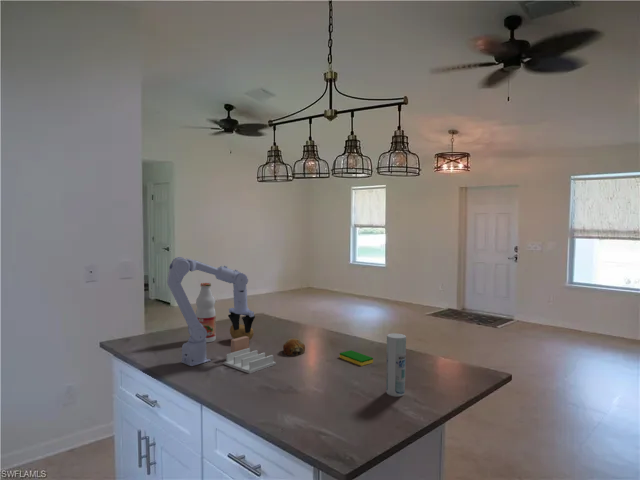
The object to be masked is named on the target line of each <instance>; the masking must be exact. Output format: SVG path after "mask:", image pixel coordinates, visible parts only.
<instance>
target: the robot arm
mask: <svg viewBox="0 0 640 480" xmlns="http://www.w3.org/2000/svg"><path fill="white" fill-rule="evenodd" d="M194 271H200V272H203V273H206V274H210V275H213V276H215V279H216V280H218V281H222V282H226V283H229V284H232V286H233V289H232V291H233V307H230V308H228V315H227V316H228V319H229V320H230V321H231V322H230V323H231V324H232V325H233V328H234V330H238V329H239V324H240V318H241V319H242V322H243V325H244V326H245V332H246V333H249V332H250V330H251V328H252V325H253V322H254V320H255V318H256V316H255V311H252V310H251V309H250V308H249V306H248V289H247V284H248V282H249V279H248V276H247V275H246V274H245V273H243V272H241V271H239V270H237V269H231V268H229V267H228V266H227V265H223V266H222V265H221V266H219V267H216V266H213V265H209V264H207V263H203V262H201V261H198V260H196V259H190V258H184V257H183V256H176V257H175V258H174V259H172V261H171V263H170V265H169V269H168V277H167V281H166V283H167V285H168V288H169V289H170V291H171V293H172V296H173V298H174V300H175V302H176V304H177V306H178V308H179V309H180V312H181V314H182V316H183V318H184V320H185V322H186V324H187V332H188V334H189V335H190V336H189V337H188V341H187V342H184V343H182V346H181V360H180V363H182V364H185V365H187V366H190V367H195V366H198V365H200V364H204V363H207V362H211V361H212V360H211V359H210V358H207V343H206V336H207V331H206V329H205V328H204V327H203V325H202V324H201V323H200V322H199V320H198V318H197V316H196V311H195V310H194V308H193V306H192V304H191V302H190V300H189V298H188V296H187V294H186V292H185V290H184V288H183V286H182V281H183V279H184V278H185V276H186V275H187V274H188V273H189V272H194ZM241 316H243V317H241ZM232 325H231V326H232Z"/></svg>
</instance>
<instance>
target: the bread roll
mask: <svg viewBox="0 0 640 480" xmlns="http://www.w3.org/2000/svg"><path fill="white" fill-rule="evenodd" d="M282 346H283V347H282V348H283V354H284V355H287V356H299V355H303V354H304V353H305V351H306V346H305V343H304V341H302V340H300V339H298V338H288V339H287V340H286V341H285V342H284V343H283V345H282Z"/></svg>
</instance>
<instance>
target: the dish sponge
mask: <svg viewBox="0 0 640 480" xmlns="http://www.w3.org/2000/svg"><path fill="white" fill-rule="evenodd" d="M339 358H340V359H342V360H345V361H347V362H349V363H353V364H355V365H358V366H361V367H363V366H366V365H370V364H373V363H374V357H372V356H368V355H366V354H363V353H360V352H357V351H354V350H352V349H351V350H346V351H343V352H340V353H339Z"/></svg>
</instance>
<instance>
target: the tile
mask: <svg viewBox="0 0 640 480" xmlns="http://www.w3.org/2000/svg"><path fill="white" fill-rule="evenodd" d="M247 348H250V340H249V337H247V336H244V337H240V338H236V339H234V338H233V339H230V353H233V352H236V351H240V350H243V349H247Z"/></svg>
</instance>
